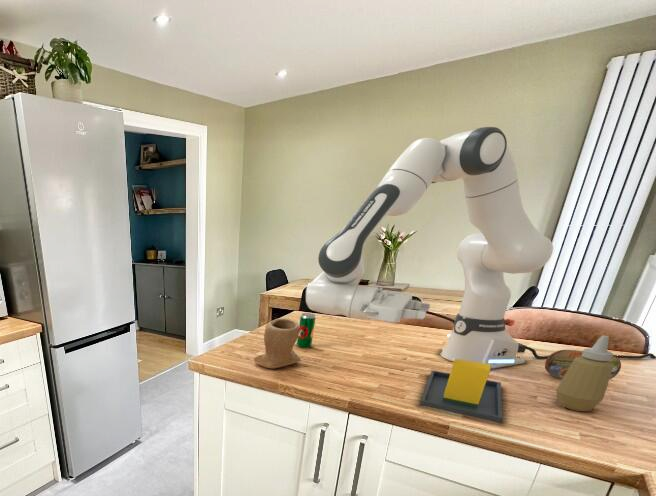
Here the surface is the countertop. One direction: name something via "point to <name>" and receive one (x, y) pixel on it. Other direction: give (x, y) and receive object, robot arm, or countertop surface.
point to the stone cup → (279, 344)
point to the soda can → (306, 330)
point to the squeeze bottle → (586, 378)
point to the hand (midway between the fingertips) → (427, 311)
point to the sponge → (466, 382)
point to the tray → (486, 408)
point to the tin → (564, 358)
